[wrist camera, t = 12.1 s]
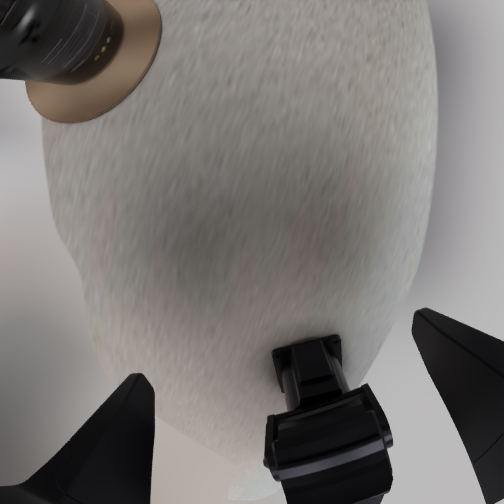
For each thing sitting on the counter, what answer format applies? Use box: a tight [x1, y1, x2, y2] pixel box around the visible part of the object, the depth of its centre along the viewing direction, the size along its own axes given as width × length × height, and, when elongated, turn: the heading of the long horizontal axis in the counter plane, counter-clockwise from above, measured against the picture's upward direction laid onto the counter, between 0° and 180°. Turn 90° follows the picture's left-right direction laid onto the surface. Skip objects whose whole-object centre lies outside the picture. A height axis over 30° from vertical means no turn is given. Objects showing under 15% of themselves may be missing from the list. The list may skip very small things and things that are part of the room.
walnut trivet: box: [25, 0, 162, 123], centre depth 13 cm, size 12×12×1 cm
